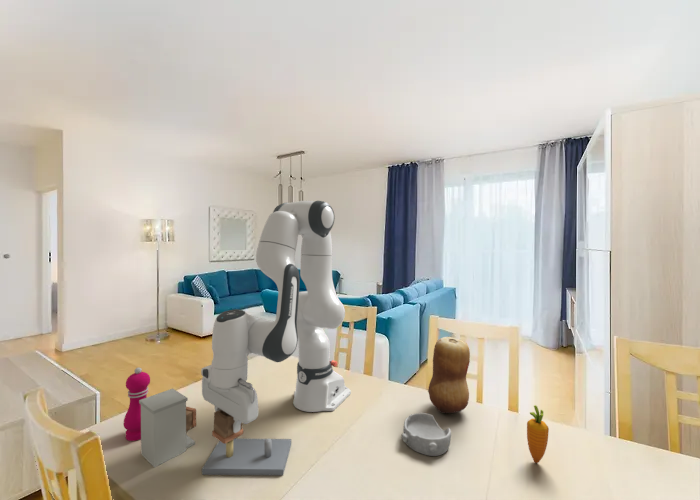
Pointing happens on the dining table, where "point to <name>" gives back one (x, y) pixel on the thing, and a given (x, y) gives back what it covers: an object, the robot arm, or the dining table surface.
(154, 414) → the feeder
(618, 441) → the dining table surface
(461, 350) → the butternut squash
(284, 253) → the robot arm
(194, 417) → the sleeve
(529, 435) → the carrot
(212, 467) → the pin board
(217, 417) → the sleeve
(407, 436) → the dish
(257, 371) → the dining table surface
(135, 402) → the pepper mill
